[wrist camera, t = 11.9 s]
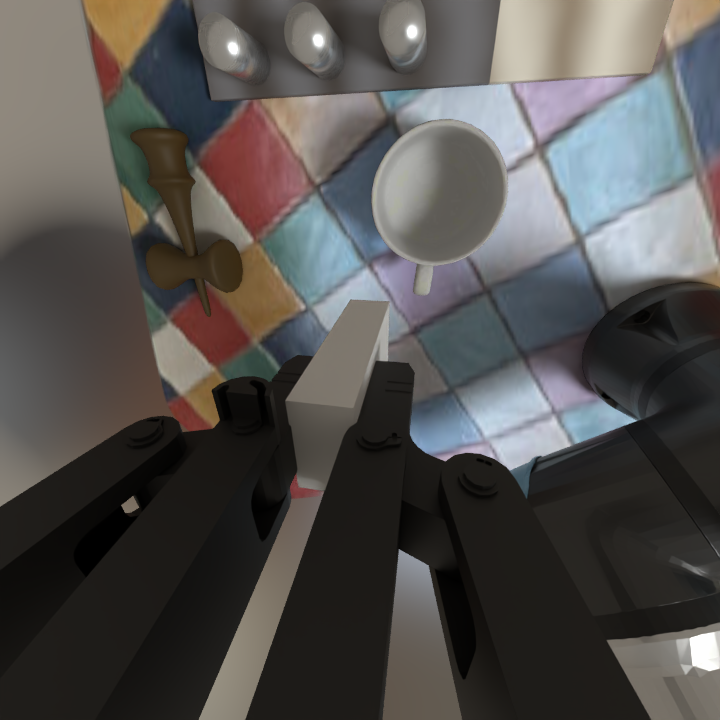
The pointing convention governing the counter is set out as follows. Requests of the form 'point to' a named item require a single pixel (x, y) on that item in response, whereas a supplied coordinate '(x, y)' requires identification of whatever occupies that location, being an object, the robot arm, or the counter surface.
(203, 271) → the kendama
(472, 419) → the counter surface
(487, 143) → the teacup
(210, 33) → the steel spacers
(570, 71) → the board
